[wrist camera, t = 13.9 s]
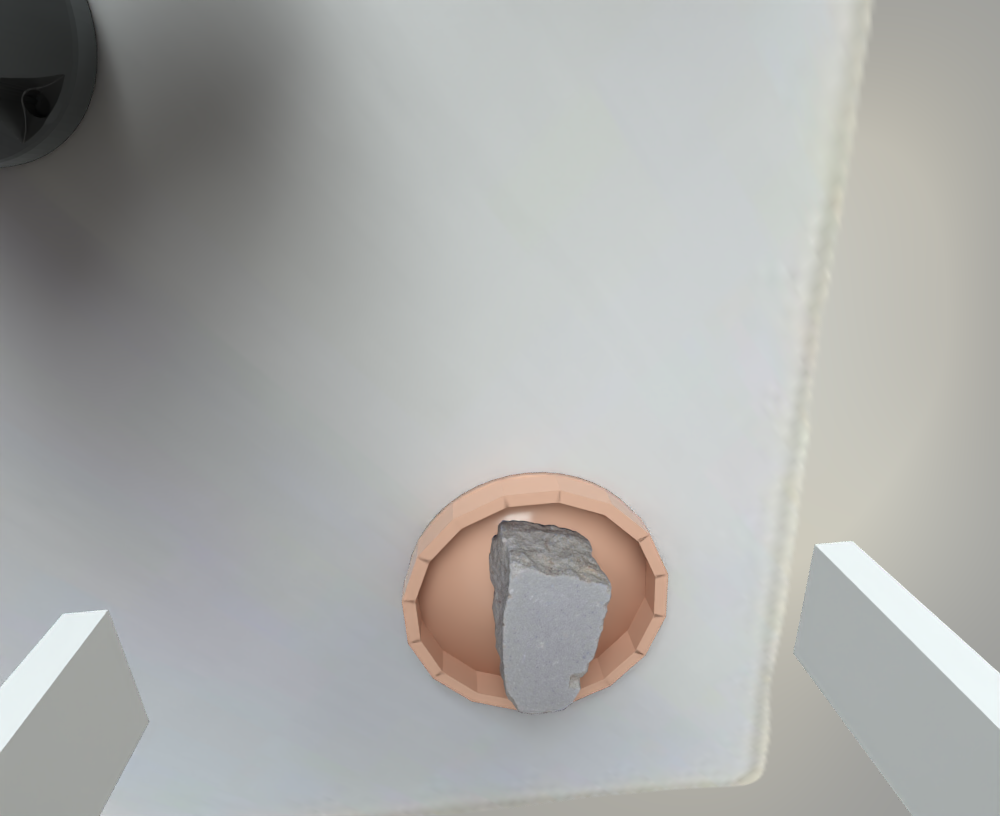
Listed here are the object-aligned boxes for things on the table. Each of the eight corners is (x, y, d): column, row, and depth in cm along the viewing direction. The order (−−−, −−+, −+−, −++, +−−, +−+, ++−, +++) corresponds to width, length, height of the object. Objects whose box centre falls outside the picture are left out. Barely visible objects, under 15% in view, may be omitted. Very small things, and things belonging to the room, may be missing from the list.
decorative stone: (576, 490, 46) (454, 526, 46) (600, 539, 40) (459, 581, 40) (611, 630, 52) (502, 663, 51) (637, 693, 45) (513, 731, 45)
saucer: (421, 691, 53) (419, 721, 50) (391, 485, 45) (387, 506, 42) (650, 666, 54) (661, 694, 51) (658, 460, 46) (672, 479, 43)
